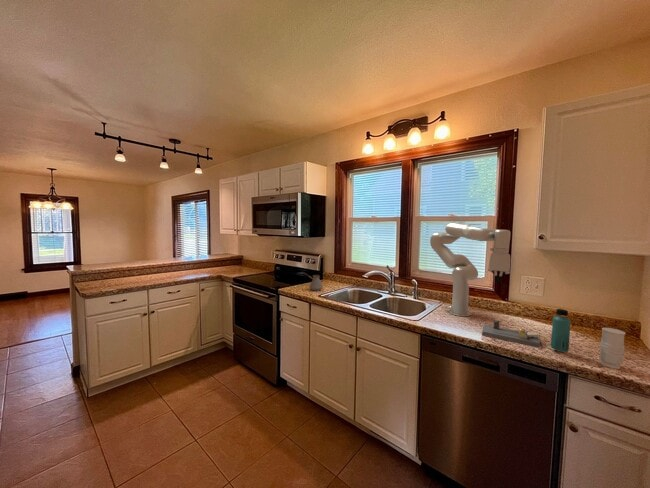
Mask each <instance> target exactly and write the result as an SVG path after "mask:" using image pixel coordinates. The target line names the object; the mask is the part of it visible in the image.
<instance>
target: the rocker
mask: <svg viewBox="0 0 650 488" xmlns="http://www.w3.org/2000/svg"><path fill="white" fill-rule="evenodd" d="M527 336H529V337H538V338H539V333H538V332H535V331H534V332H533V331H532V332H530V331H528V332H527Z"/></svg>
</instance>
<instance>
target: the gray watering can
mask: <svg viewBox="0 0 650 488" xmlns="http://www.w3.org/2000/svg"><path fill="white" fill-rule="evenodd" d="M300 274H304V275H305V276H306V277H309V278H310V279H312V281H311V282H310V285H309V289H310V290H311V291H312V292H320V291H321V290H322V289H323V285H322V282H321V279H320V278H321V276H320V275H319V274H313V275H312V276H310V275H309V274H308V273H305V272H304V271H301V273H300Z"/></svg>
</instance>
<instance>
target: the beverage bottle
mask: <svg viewBox="0 0 650 488" xmlns="http://www.w3.org/2000/svg"><path fill="white" fill-rule="evenodd" d="M555 314H556V315H555V316H553V317H552V326H551V327H552V328H551V337H550V348H551V349H553V350H555V351H559V352H562V353H566V352H569V349H570V345H571V344H570V336H571V335H570V334H571V322H572V321H571V320H570V318H569V317H568V316H569V312H568V310H566V309H562V308H557V309H556V311H555ZM566 316H567V317H566Z"/></svg>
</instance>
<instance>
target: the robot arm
mask: <svg viewBox="0 0 650 488" xmlns="http://www.w3.org/2000/svg"><path fill="white" fill-rule="evenodd" d="M444 231H445V232H441V231H440V232H435V233H433V234H432V235H431V236H430V239H429V242H430V243H429V244H430V246H431V248H432V250H433V251H434V252H435V254H437V256H438V257H439V258H440V259H441V260H442V262H443V263H444V264H445V266H446V267H447V268H449V269H453V270H452V272H451V276H452V300H451V305H448V304H444V308H445V309H447V310H448V312H449V314H451V315H454V316H458V317H469V316H471V313H470V312H469V299H470V298H469V295H470V287H469V286H470V285H469V283H468V281H474V280H476V279H477V278H478V276H479V271H478V269H477V267H476V266H475V265H474V264H473V263H472V262H471V261H470V259H469V258H468V257H467V256H465V255H463V254H459V253H458V254H457V253H454V252H452V250H451V249H450V248H449V247H448V246H447V245H451V244H453V243H454V242H456V241H457V240H459V239H460V238H465V239H468V240H471V241H478V242H493V247H492V248H489V251H491V253H490V255H489V261H488V269H487V272H490V273H492V274H493V275H494V281H495V283H498V284H499V283H501V282H502V276H504V275H509V274H511V273H510V272H511V270H510V269H511V254H509V251H510V241H511V235H512V234H511V231H510V230H509V229H495V228H481V227H473V226H472V225H470V224H463V223H461V222H451V223H448V224H446V225H445V229H444ZM498 272H499V274H498Z"/></svg>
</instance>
